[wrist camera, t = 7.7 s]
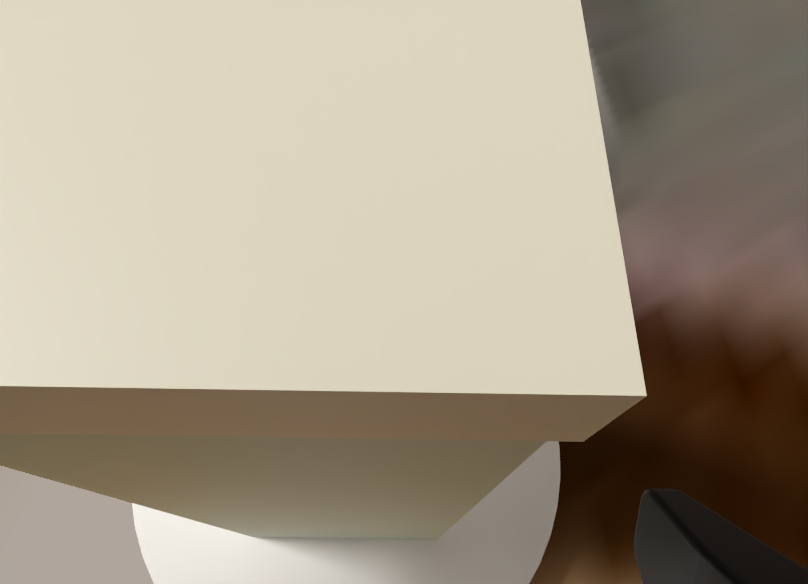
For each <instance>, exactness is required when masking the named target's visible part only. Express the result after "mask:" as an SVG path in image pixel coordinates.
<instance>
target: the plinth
mask: <svg viewBox="0 0 808 584" xmlns="http://www.w3.org/2000/svg"><path fill="white" fill-rule="evenodd" d="M559 487H560V447H559V441H546V442H545V443H544V444H543V445H542V446H541V447H540V448H539V449H538V450H536V451H535V452H534V453H533V454H532V455H531V456H530V457H529V458H528V459H526V460H525V461H524V462H523V463H522V464H521V465H520V466H519V467H518V468H516V469H515V470H514V471H513V472H512V473H511V474H510V475H509V476H508V477H506V478H505V479H504V480H503V481H502V482H501V483H500V484H499V485H498V486H496V487H495V488H494V489H493V490H492V491H491V492H490V493H489V494H488V495H486V496H485V497H484V498H483V499H482V500H481V501H480V502H479V503H478V504H476V505H475V506H474V507H473V508H472V509H471V510H470V511H469V512H468V513H466V514H465V515H464V516H463V517H462V518H461V519H460V520H459V521H458V522H456V523H455V524H454V525H453V526H452V527H451V528H450V529H449V530H448V531H446V532H445V533H444V534H443V535H442V536H441V537H440V538H439V539H438V540H430V539H357V538H284V537H250V536H247V535H243V534H240V533H236V532H233V531H229V530H226V529H222V528H219V527H215V526H212V525H208V524H205V523H201V522H198V521H194V520H191V519H187V518H184V517H180V516H177V515H173V514H170V513H166V512H163V511H159V510H155V509H152V508H148V507H145V506H141V505H138V504H134V503H132V507H133V515H134V524H135V529H136V533H137V537H138V541H139V545H140V549H141V552H142V556H143V559H144V561H145V563H146V566H147V568H148V570H149V573H150V575H151V578H152V580H153V583H154V584H529V583H530V581H531V580H532V578H533V576H534V574H535V572H536V570H537V568H538V567H539V565H540V562H541V560H542V557H543V555H544V552H545V549H546V547H547V544H548V541H549V539H550V536H551V532H552V528H553V524H554V519H555V515H556V511H557V506H558V497H559Z"/></svg>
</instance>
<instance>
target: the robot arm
mask: <svg viewBox="0 0 808 584" xmlns="http://www.w3.org/2000/svg"><path fill="white" fill-rule="evenodd" d="M634 553H635V558H636V562H637V565H638V568H639V572H640V575H641V578H642V581H643V584H808V570H807V569H805V568H804V567H802V566H801V565H799V564H797V563H796V562H794V561H793V560H791V559H789V558H788V557H786V556H785V555H783V554H781V553H780V552H778V551H777V550H775V549H773V548H772V547H770V546H769V545H767V544H765V543H764V542H762V541H760V540H759V539H757V538H756V537H754V536H752V535H751V534H749V533H748V532H746V531H744V530H743V529H741V528H740V527H738V526H736V525H735V524H733V523H732V522H730V521H728V520H727V519H725V518H724V517H722V516H720V515H719V514H717V513H716V512H714V511H712V510H711V509H709V508H708V507H706V506H704V505H703V504H701V503H699V502H698V501H696V500H695V499H693V498H691V497H690V496H688V495H687V494H685V493H683V492H682V491H680V490H678V489H672V488H649V489H647V490H645V491H644V492H643V494H642V497H641V501H640V507H639V513H638V519H637V524H636V530H635V536H634Z"/></svg>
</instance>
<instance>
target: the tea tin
mask: <svg viewBox="0 0 808 584" xmlns="http://www.w3.org/2000/svg"><path fill="white" fill-rule="evenodd" d="M646 396H647V395H646V389H645V383H644V377H643V371H642V365H641V359H640V353H639V347H638V341H637V335H636V329H635V323H634V317H633V311H632V305H631V299H630V293H629V288H628V282H627V276H626V270H625V264H624V258H623V252H622V246H621V240H620V234H619V228H618V222H617V216H616V210H615V204H614V198H613V192H612V186H611V180H610V174H609V168H608V162H607V156H606V150H605V144H604V138H603V132H602V126H601V120H600V114H599V109H598V103H597V97H596V91H595V85H594V79H593V73H592V67H591V61H590V55H589V49H588V43H587V37H586V31H585V25H584V19H583V13H582V7H581V1H580V0H0V465H1V466H4V467H8V468H11V469H15V470H19V471H22V472H25V473H29V474H32V475H36V476H39V477H43V478H46V479H50V480H54V481H57V482H61V483H64V484H68V485H71V486H75V487H78V488H82V489H86V490H89V491H92V492H96V493H99V494H103V495H107V496H110V497H113V498H117V499H120V500H124V501H127V502H131V503H134V504H138V505H141V506H145V507H148V508H152V509H155V510H159V511H163V512H166V513H170V514H173V515H177V516H180V517H184V518H187V519H191V520H194V521H198V522H201V523H205V524H208V525H212V526H215V527H219V528H222V529H226V530H229V531H233V532H236V533H240V534H243V535H247V536H250V537H284V538H357V539H430V540H438V539H439V538H440V537H441V536H442V535H443V534H444V533H445V532H446V531H448V530H449V529H450V528H451V527H452V526H453V525H454V524H455V523H456V522H458V521H459V520H460V519H461V518H462V517H463V516H464V515H465V514H466V513H468V512H469V511H470V510H471V509H472V508H473V507H474V506H475V505H476V504H478V503H479V502H480V501H481V500H482V499H483V498H484V497H485V496H486V495H488V494H489V493H490V492H491V491H492V490H493V489H494V488H495V487H496V486H498V485H499V484H500V483H501V482H502V481H503V480H504V479H505V478H506V477H508V476H509V475H510V474H511V473H512V472H513V471H514V470H515V469H516V468H518V467H519V466H520V465H521V464H522V463H523V462H524V461H525V460H526V459H528V458H529V457H530V456H531V455H532V454H533V453H534V452H535V451H536V450H538V449H539V448H540V447H541V446H542V445H543V444H544V443H545V442H546V441H568V442H584V441H585V440H586V439H588V438H589V437H591V436H592V435H593V434H595V433H596V432H597V431H599V430H600V429H602V428H603V427H604V426H606V425H607V424H608V423H610V422H611V421H613V420H614V419H615V418H617V417H618V416H620V415H621V414H622V413H624V412H625V411H626V410H628V409H629V408H631V407H632V406H633V405H635V404H636V403H638V402H639V401H640V400H642V399H643V398H644V397H646Z"/></svg>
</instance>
